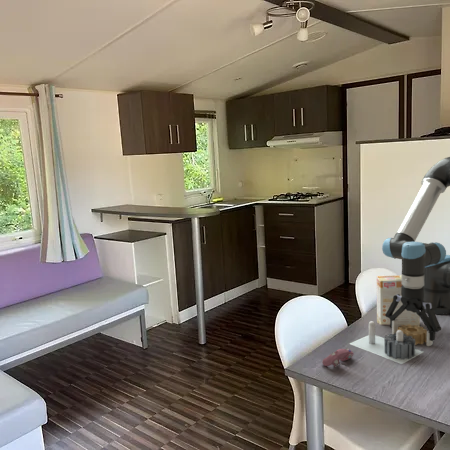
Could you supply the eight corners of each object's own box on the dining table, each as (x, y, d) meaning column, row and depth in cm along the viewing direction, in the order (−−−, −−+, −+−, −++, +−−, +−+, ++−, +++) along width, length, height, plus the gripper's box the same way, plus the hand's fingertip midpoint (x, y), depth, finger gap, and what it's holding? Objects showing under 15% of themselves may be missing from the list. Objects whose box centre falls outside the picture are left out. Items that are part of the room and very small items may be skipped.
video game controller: (328, 373, 149) (334, 359, 145) (320, 363, 152) (326, 348, 149) (351, 365, 154) (357, 351, 150) (342, 355, 157) (349, 341, 153)
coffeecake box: (414, 321, 184) (415, 274, 181) (420, 327, 177) (420, 279, 174) (376, 321, 186) (376, 275, 183) (380, 328, 179) (380, 280, 176)
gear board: (371, 337, 171) (371, 313, 169) (424, 356, 154) (424, 329, 153) (348, 347, 164) (348, 322, 162) (401, 368, 147) (402, 340, 145)
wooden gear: (407, 335, 171) (407, 322, 171) (431, 342, 164) (432, 329, 163) (392, 342, 166) (392, 329, 165) (416, 351, 158) (417, 337, 157)
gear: (395, 344, 161) (395, 330, 160) (420, 353, 153) (421, 339, 152) (378, 352, 155) (378, 338, 154) (404, 362, 148) (404, 347, 147)
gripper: (376, 280, 169) (375, 335, 172) (441, 296, 149) (439, 357, 152) (388, 276, 173) (387, 329, 177) (453, 291, 153) (451, 350, 157)
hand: (411, 342), depth 165 cm, fingers open, 13 cm apart
